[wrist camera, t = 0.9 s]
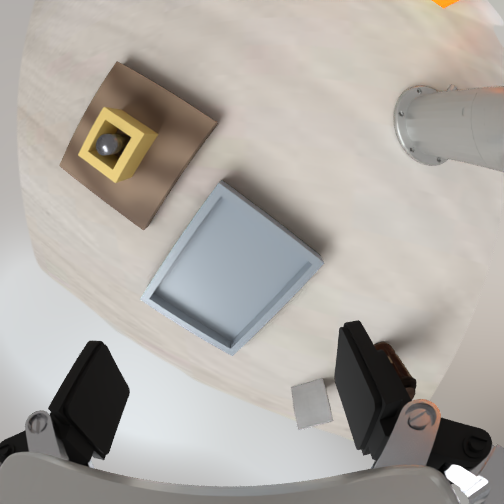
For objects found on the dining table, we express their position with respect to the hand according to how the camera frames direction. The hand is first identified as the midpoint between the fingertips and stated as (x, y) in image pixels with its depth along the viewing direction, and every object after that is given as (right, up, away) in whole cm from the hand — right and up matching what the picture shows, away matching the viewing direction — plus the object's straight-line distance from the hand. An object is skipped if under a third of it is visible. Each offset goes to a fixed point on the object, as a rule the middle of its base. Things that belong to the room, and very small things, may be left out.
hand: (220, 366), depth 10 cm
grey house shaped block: (+13, -24, +43) cm, 51 cm away
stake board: (-16, +20, +25) cm, 35 cm away
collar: (-16, +19, +23) cm, 34 cm away
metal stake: (-16, +19, +23) cm, 34 cm away
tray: (-3, +1, +32) cm, 32 cm away
